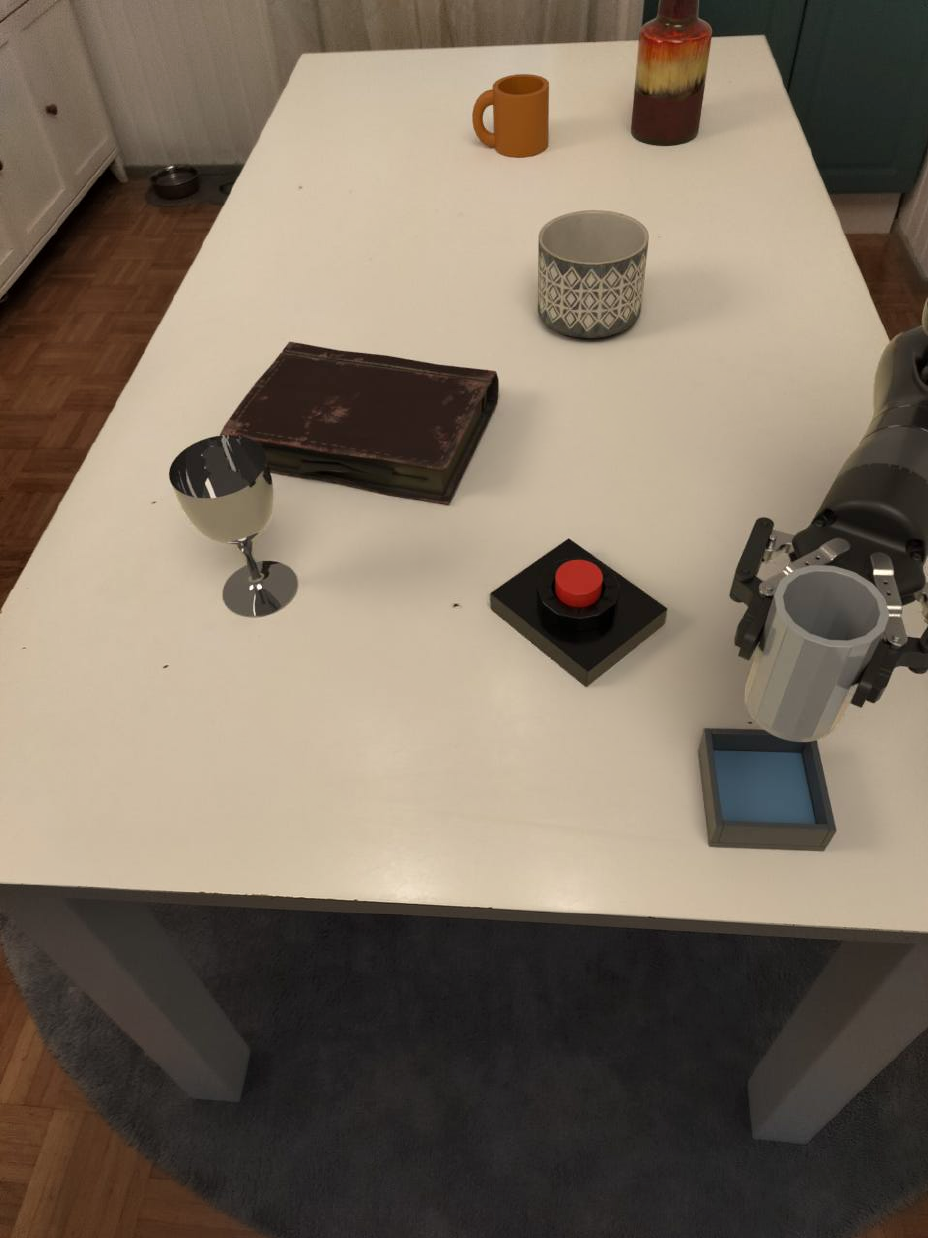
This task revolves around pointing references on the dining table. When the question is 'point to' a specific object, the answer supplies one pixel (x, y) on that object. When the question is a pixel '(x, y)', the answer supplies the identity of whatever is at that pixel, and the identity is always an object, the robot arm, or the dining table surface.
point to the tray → (764, 791)
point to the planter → (591, 273)
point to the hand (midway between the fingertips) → (801, 673)
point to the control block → (578, 615)
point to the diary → (368, 420)
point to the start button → (578, 583)
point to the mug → (515, 115)
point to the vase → (671, 74)
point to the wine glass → (234, 516)
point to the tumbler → (813, 651)
